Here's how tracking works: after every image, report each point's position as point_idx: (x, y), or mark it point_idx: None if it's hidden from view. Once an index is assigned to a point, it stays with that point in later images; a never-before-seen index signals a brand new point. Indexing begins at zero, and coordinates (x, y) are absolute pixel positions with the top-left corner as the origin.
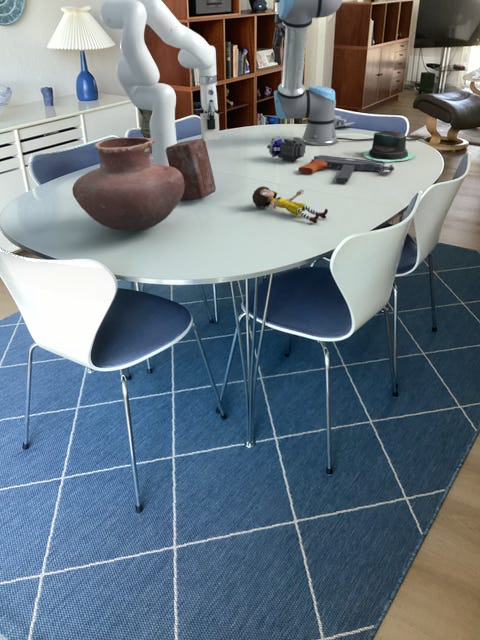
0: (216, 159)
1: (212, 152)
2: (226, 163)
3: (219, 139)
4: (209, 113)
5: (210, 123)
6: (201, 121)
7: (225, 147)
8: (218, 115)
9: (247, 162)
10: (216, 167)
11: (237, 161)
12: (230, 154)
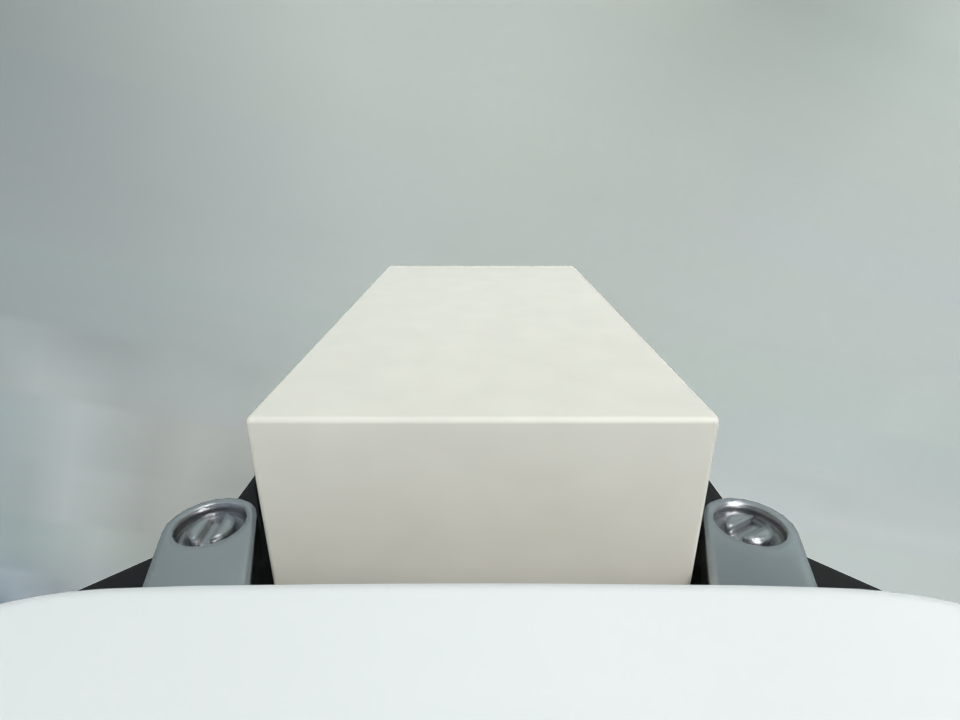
0: (634, 299)
1: (354, 270)
2: (819, 246)
3: (572, 268)
4: None
5: None
6: None
7: (159, 69)
8: (714, 415)
9: (912, 12)
10: (890, 363)
11: (811, 114)
12: (499, 105)
